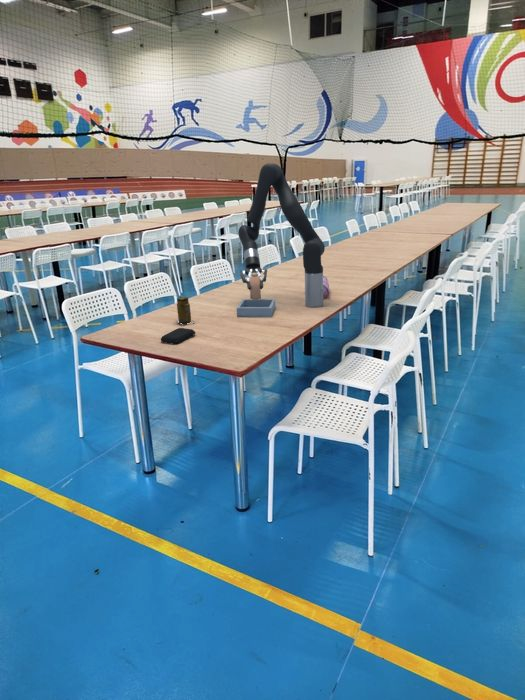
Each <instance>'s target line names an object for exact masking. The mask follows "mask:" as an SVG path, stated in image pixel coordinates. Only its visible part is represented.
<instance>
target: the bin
mask: <svg viewBox="0 0 525 700" xmlns="http://www.w3.org/2000/svg"><path fill="white" fill-rule="evenodd" d="M275 309H277V307H276V299H275V298H271V299H270V298H269V299H267V298H263V299H262V298H260V299H251V298H249V299H247V298H246V299H244V298H243V299H241V301H240V302H239V304H238V305H237V307H236V316H237V318H272V316H273V314H274V313H275Z"/></svg>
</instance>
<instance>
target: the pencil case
mask: <svg viewBox="0 0 525 700" xmlns="http://www.w3.org/2000/svg"><path fill="white" fill-rule="evenodd" d="M329 288H330V284H329V280H328V278H327V276H324V275H323V299H325V298H326V297H327V296H328V295H329V292H330V289H329Z"/></svg>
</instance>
